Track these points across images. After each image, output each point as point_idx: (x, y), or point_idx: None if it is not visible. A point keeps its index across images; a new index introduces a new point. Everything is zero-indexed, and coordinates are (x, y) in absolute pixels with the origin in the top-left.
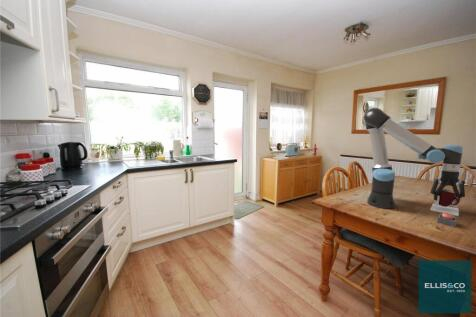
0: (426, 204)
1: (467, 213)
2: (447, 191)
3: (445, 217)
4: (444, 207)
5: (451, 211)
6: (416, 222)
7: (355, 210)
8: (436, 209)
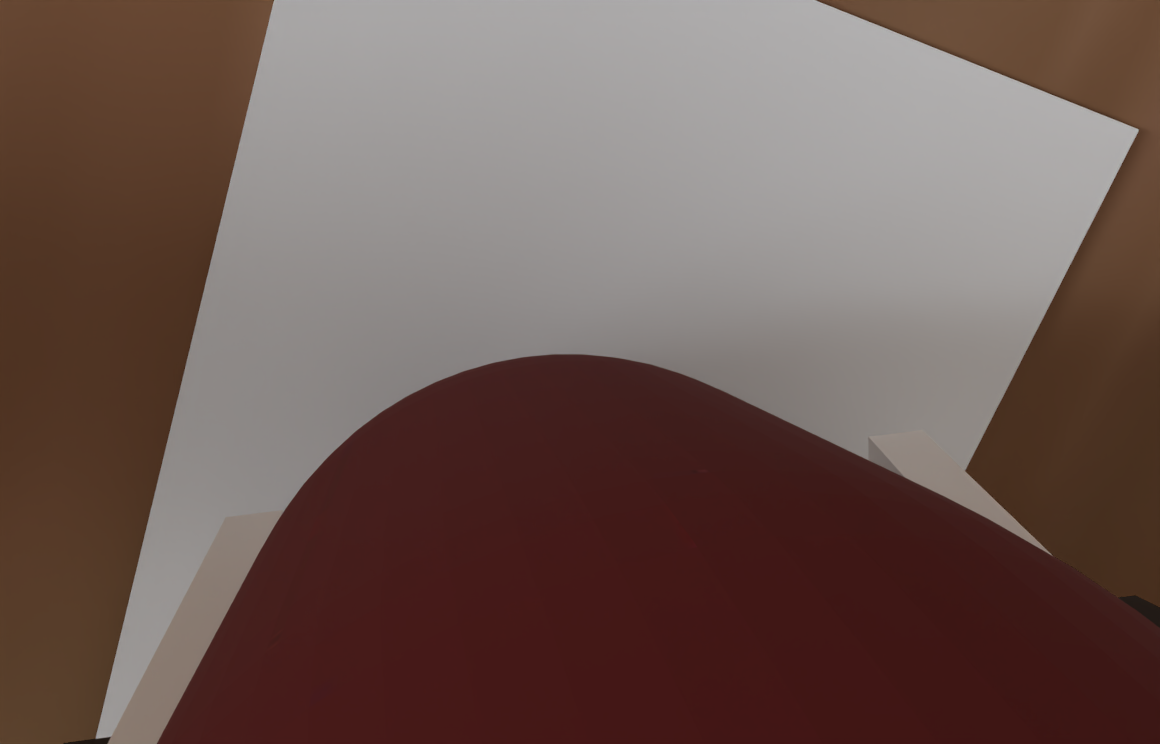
0: (37, 65)
1: (1130, 525)
2: (1087, 690)
3: None
4: (643, 249)
5: None
6: None
7: None
8: None
